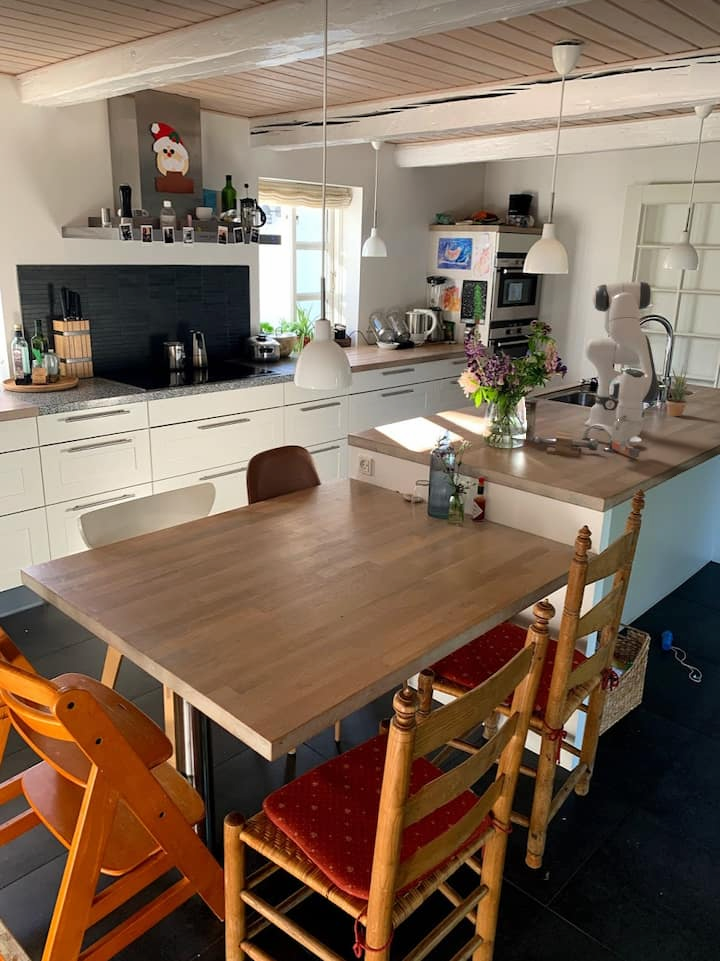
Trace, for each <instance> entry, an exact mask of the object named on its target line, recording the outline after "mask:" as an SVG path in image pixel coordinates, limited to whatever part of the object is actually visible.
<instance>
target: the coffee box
mask: <svg viewBox="0 0 720 961" xmlns="http://www.w3.org/2000/svg"><path fill="white" fill-rule="evenodd" d="M524 399H525V407H526V420H527V431H526V440H525V441H529V442H530V441H531V442H532V441H534V439H535V438H534V437H535V426H536V418H537V410H538V400H537V399H531V398H524Z"/></svg>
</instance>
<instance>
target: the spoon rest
mask: <svg viewBox="0 0 720 961" xmlns="http://www.w3.org/2000/svg"><path fill="white" fill-rule="evenodd" d="M595 427H599V428H602V429H601V430H603V431H605V433H606V434H607V435H608V437H609V438H610V439H611V436H612V431H613V428H612V427H610V426H607V425H604V424H594V425H591V426H587V427H586V428H585V429H584V430H583V432H582V434H581V440H585V439H587V438H588V435H589V432H590V431H591V429H596V428H595ZM642 440H643V439H642V438H641V437H639V436H638V435H637V436H635V437H632V438H631V439H630V442H629V445H628V446H631V447H633V448H635V447H636V446H638V445H639V444H640V443H641V442H642Z"/></svg>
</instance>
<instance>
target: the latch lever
mask: <svg viewBox="0 0 720 961" xmlns="http://www.w3.org/2000/svg"><path fill="white" fill-rule="evenodd" d="M612 449H614V450H617V451H619V452H618V453H622V454H624V455H628V456H629V457H632V458H634V459H635V458H640V454H641V453H640V451H641V450H640V449H638V448H636V447H631V446H628V449H627V450H625V451H622V450H621V444H620V443H618V442H612Z"/></svg>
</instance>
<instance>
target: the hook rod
mask: <svg viewBox="0 0 720 961" xmlns="http://www.w3.org/2000/svg"><path fill="white" fill-rule="evenodd" d="M533 441H534V443H535V444H536V445H540V444H544V445H548V444H552V445H556V439H553V438H552V439H551V438H541V437H539V436H537V437H535V438H533ZM598 445H599V439H598V438H592V437H591V438H590V439H589V442H584V441H576V440H575V441H574V440H572V446H573V447H580V448H584V449H585V448H586V449H587V448H588V450H590V451H598Z"/></svg>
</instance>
